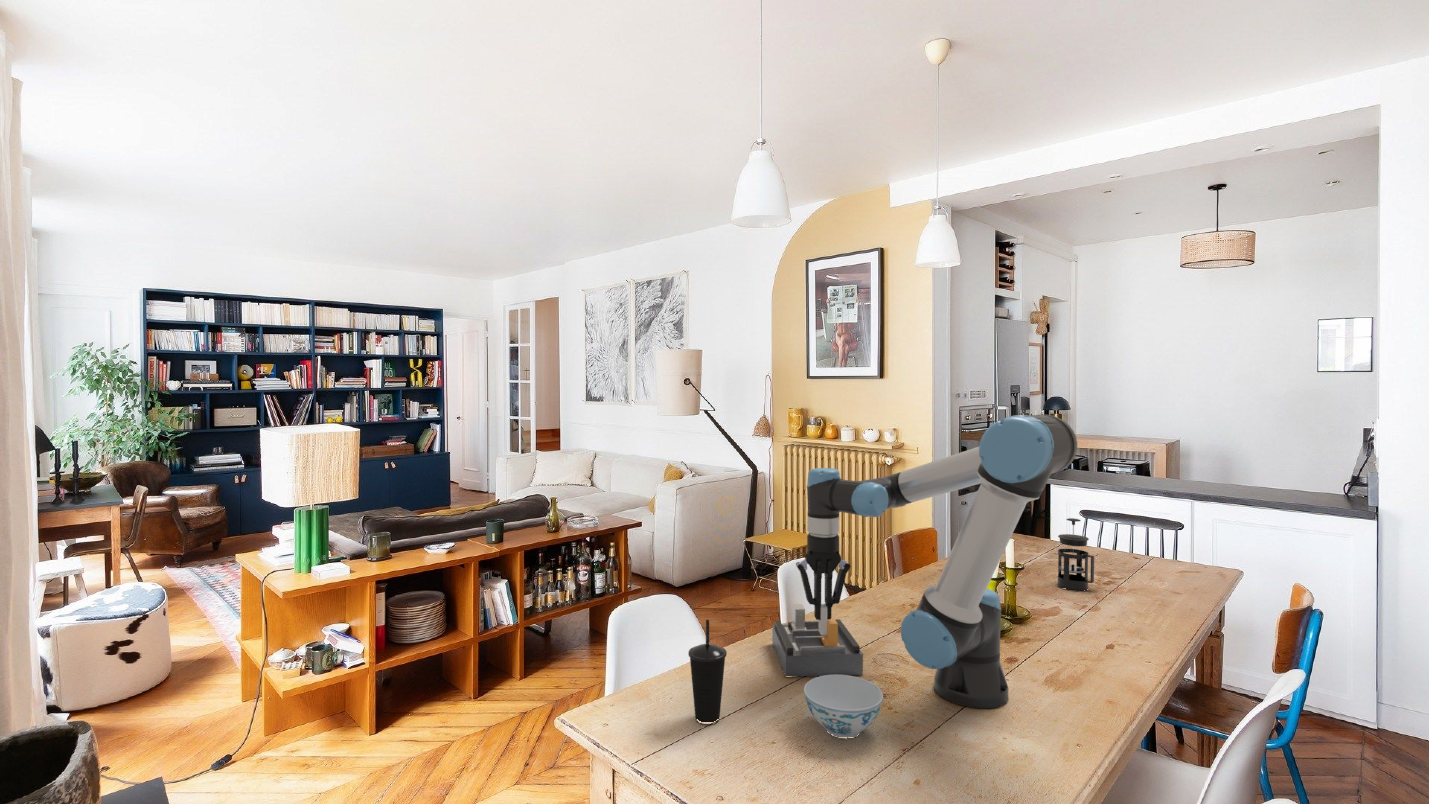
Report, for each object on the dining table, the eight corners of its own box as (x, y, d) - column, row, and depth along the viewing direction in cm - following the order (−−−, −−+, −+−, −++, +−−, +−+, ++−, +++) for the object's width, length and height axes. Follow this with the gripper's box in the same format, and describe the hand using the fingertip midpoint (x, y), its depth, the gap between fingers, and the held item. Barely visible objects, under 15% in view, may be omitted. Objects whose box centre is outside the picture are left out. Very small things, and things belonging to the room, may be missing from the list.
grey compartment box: (862, 675, 154) (863, 627, 153) (785, 677, 152) (785, 629, 152) (840, 642, 174) (840, 600, 173) (772, 643, 172) (772, 601, 172)
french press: (1049, 585, 223) (1050, 517, 223) (1063, 581, 229) (1064, 514, 228) (1085, 594, 214) (1086, 523, 213) (1099, 589, 219) (1100, 520, 219)
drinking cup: (693, 731, 128) (693, 628, 128) (684, 712, 136) (684, 615, 135) (731, 726, 130) (731, 625, 130) (720, 707, 138) (720, 612, 137)
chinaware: (788, 730, 129) (788, 690, 129) (833, 704, 140) (833, 668, 139) (853, 761, 118) (854, 718, 118) (897, 730, 129) (897, 691, 129)
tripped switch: (839, 648, 156) (840, 624, 156) (826, 649, 156) (826, 624, 155) (834, 640, 161) (834, 617, 160) (821, 641, 160) (821, 617, 160)
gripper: (846, 530, 161) (845, 626, 162) (793, 530, 161) (792, 627, 161) (854, 536, 154) (854, 638, 154) (799, 537, 153) (798, 639, 154)
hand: (822, 632), depth 158 cm, fingers closed
